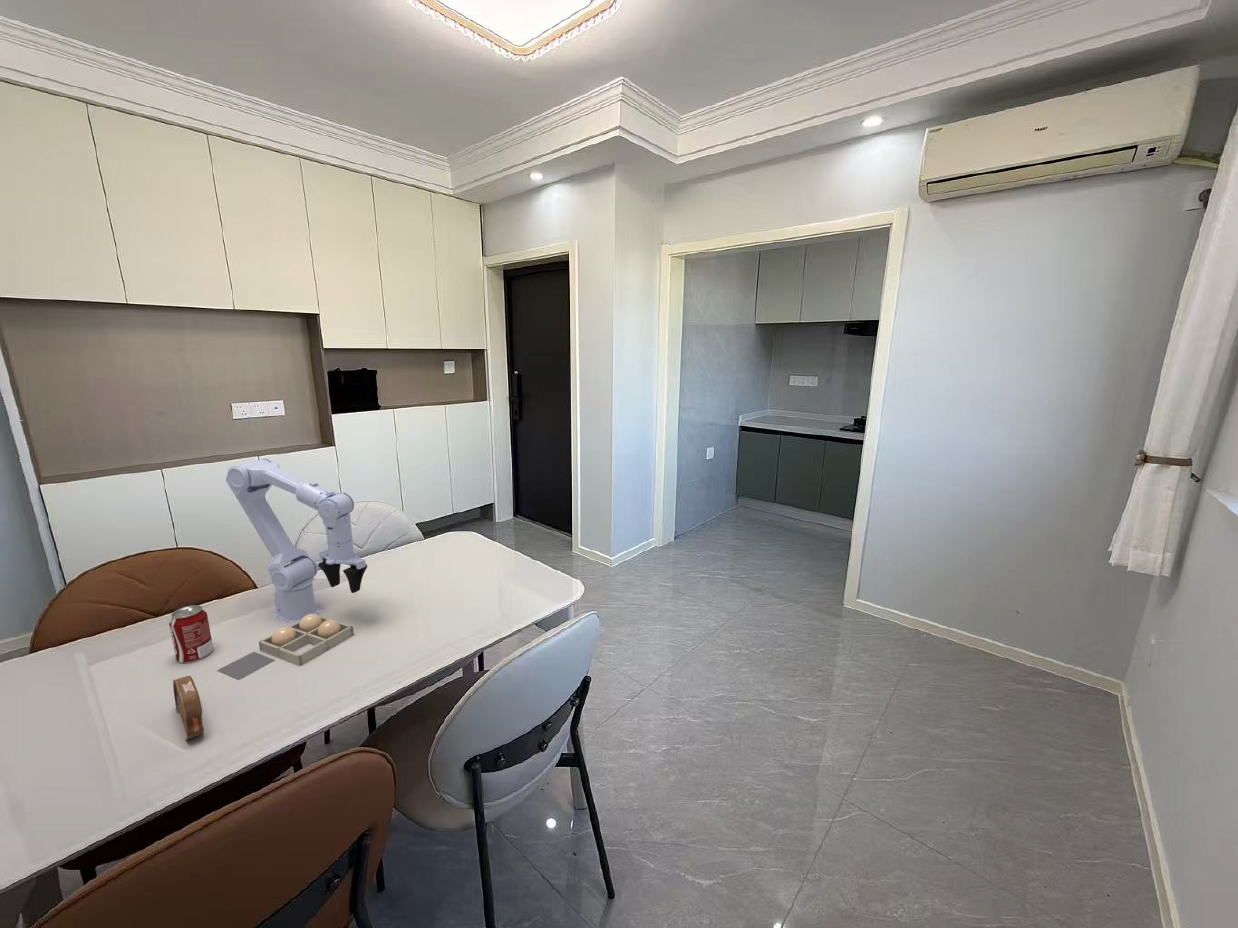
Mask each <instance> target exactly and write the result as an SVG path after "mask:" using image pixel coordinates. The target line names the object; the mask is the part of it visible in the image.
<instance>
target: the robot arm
mask: <svg viewBox="0 0 1238 928" xmlns="http://www.w3.org/2000/svg"><path fill="white" fill-rule="evenodd" d="M225 481H226V483H227V485H228V486H229V488H230V489H231V491H232V493H233V494H234V496H235V498H236V500H237V502H238V503H239V504H240V506H241V508H242V509H243V511H244V513H245V514H246V516H247V518H248V520H249V521H250V523H251V524H252V526H253V527H254V529H255V531H256V533H257V534H258V536H259V537H260V540H261V541H262V542H263V544H264V546H265V547H266V549H267V551H268V553H269V554H270V555H271V557H272V560H271V562H270V564H269V566H268V567H267V571H268V573H269V574H270V579H271V583H272V584H273V586H274V587H275V591H274V594H273V596H274V597H273V598H274V602H275V604H274V605H275V611H276V613H275V614H274V615H273V617H275V618H278V619H282V620H285V621H287V622H290V623H293V624H295V623H297V622H299V621H301V619H302V618H303V617H304V616H306V615H308V614H317V615H318V614H319V613H322V612H324V609H323V608H319V607H316V601H315V593H314V592H315V591H314V584H313V581H315V576H316V575H317V574H318V571H319V569H320V570H321V571H322V572H323V573H324V575H325V577H326V579H327V581H328V583H329V586H330V587H331V588H334V587H337V586H339V585H340V583H341V565H346V566H350V567H347V568H346V569H343V570H342V572H343V573H344V574H345V577H346V578H347V581H348V586H349V590H350V593H351V594H355V593H357V592H358V591H360V590H361V585H362V580H363V578H364V577H363V576H364V575H365V571H366V570H367V568H368V564H367V563H366V560H365V558H361V557H360V556H359V555H357V554H356V553H355V549H354V542H353V541H354V540H353V531H352V523H351V512H353V511H354V508H355V502H354V499H353V497H351V495H350V494H348V493H347V492H343V491H340V492H334V491H333V490H332V489H327V488H326V487H323V486H321V485H320V484H319V482H317V481H307V482H304V481H301V480H300V479H298V478H297V477H295V476H293V475H292V474H290V473H289V472H287V471H285V470H284V469H281V467H280V465H279V463H278V462H276V461H273V460H272V459H269V458H261V459H259V460H255V461H249V462H247V463H242V464H236V465H232V466H230V467H229V468H228V470H227V474H226V477H225ZM272 486H274V487H275V488H276V487H277V488H280V489H282V490H285V491H286V492H288V493H291V494H293V495H295V498H296V501H298V502H299V503H302V504H303V505H306V506H308V507H309V508H311V509H314V510H316V511H317V513H318V515H319V517H320V518H321V520H322V524H323V525H324V527H325V532H326V541H327V544H326V545H327V549H325V550H322V551H320V552H318V553H319V554H318V555H319V560H321V562H319V563H318V564H317V562H316V561H315V559H314V558H312V557H311V556H310V555H309V554H308V552H307V550H305V549H300V548H297V547H295V545H294V544H293V542H292V540H291V539H290V537H289V536H288V534H287V532H286V531H285V529H284V527H283V526H282V524H281V522H280V521H279V519H278V517H277V515H276V514H275V512H274V511H273V509H272V507H271V505H270V504H269V502H268V500H267V499H266V495H267V492H268V491H269V490H270V489H271V487H272Z"/></svg>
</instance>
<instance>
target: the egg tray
mask: <svg viewBox="0 0 1238 928" xmlns="http://www.w3.org/2000/svg"><path fill="white" fill-rule="evenodd" d="M319 616H320V617H321V619H322V623H323V622H324V621H326V620H333V619H331V618H328V617H325V616H323V615H319ZM336 621H337V620H336ZM296 622H297V621H296ZM337 622H338V623H339V624H340V627H341V630H340V632H339V633H337V634H335V635H333V636H332V637H330V638H328V639H324V638H321V637H319V636H318V628H319V627H317V628H316V629H314V630H312V631H310V632H308V633H307V632H304V631H301V630H300V628H299V623H300V621H299V622H297V623H293V624H291V625H289V626H288V627H291V628H292V629H294V631H295V632H296V639H295V640H293V641H291V642H289V643H287V644H285V645H283V646H281V647H278V646H275V645H273V644H272V641H271V638H272V635H273V634H271V635H269V636H267V637H265V638H263V639H261V640H259V641H258V647H259V651H260V652H261V653H265V654H268V655H271V656H273V657H276V658H278V659H281V660H284V661H286V662H288V663H291V664H293V665H296V666H299V667H301V666H302V665H304V664H306V663H308V662H309V661H311V660H312V659H315V658H316V657H319V656H320V655H321V654H323V653H326V652H327V651H328V650H330V649H331V648H333V647H335V646H337V645H339V644H340V643H342V642H344V641H346V640H347V639H349V638H350V637H352V636H354V626H353V625H350V624H347V623H343V622H341V621H337ZM308 644H309V645H311V647H310V648H308V649H307V650H305V651H303V652H301V653H296V652H295V651H297V650H299V649H300V648H302V647H304V646H307V645H308Z"/></svg>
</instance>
